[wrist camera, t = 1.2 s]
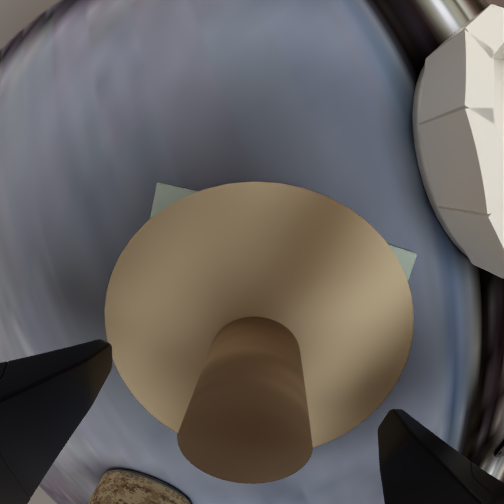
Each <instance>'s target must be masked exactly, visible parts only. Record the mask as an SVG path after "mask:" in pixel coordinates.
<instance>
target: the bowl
mask: <svg viewBox="0 0 504 504" xmlns="http://www.w3.org/2000/svg"><path fill="white" fill-rule="evenodd" d="M412 116H413V136H414V145H415V152H416V157H417V162H418V167H419V170H420V174H421V178H422V181H423V185H424V188H425V190H426V193H427V196H428V199H429V201H430V204H431V206H432V208H433V210H434V212H435V214H436V217H437V219H438V220H439V222H440V224H441V225H442V227H443V229H444V231H445V232H446V233H447V235H448V236H449V237H450V239H451V240H452V242H453V243H454V244H455V245H456V246H457V247H458V248H459V249H460V250H461V251H462V252H463V253H464V254H465V255H467V256H468V258H469V259H470V261H471V263H472V264H473V265H475V266H477V267H480V268H482V269H484V270H486V271H488V272H490V273H492V274H494V275H497V276H499V277H501V278H503V279H504V8H501V7H499V6H496V5H493V4H492V5H490V6H488V7H487V8H486V9H484V10H483V11H482V12H480V13H479V14H478V15H476V16H475V17H474V18H472V19H471V20H470V21H468V22H467V23H466V24H465V25H463V26H462V27H461V28H459V29H458V30H457V31H456V32H454V33H453V34H452V35H451V36H450V37H449V38H448V39H447V40H446V41H444V42H443V43H442V44H441V45H440V46H439V47H438V48H437V49H436V50H435V51H433V52H432V53H431V54H430V55H429V56H428V57H427V58H426V60H425V65H424V67H423V68H422V70H421V72H420V75H419V78H418V81H417V83H416V88H415V93H414V100H413V112H412Z"/></svg>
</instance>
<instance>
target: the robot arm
mask: <svg viewBox="0 0 504 504" xmlns="http://www.w3.org/2000/svg"><path fill="white" fill-rule="evenodd" d="M111 368H112V345H111V344H110V343H108V342H106V341H104V340H101V339H99V340H94V341H91V342H87V343H83V344H79V345H75V346H71V347H67V348H63V349H59V350H55V351H51V352H47V353H42V354H38V355H34V356H30V357H25V358H21V359H16V360H12V361H8V362H2V363H0V504H27V503H28V502H29V500H30V497H31V496H32V495H33V493H34V492H35V490H36V489H37V487H38V485H39V484H40V482H41V481H42V479H43V478H44V476H45V475H46V473H47V471H48V470H49V468H50V467H51V465H52V464H53V462H54V461H55V459H56V458H57V456H58V455H59V453H60V452H61V450H62V449H63V447H64V446H65V444H66V443H67V441H68V440H69V438H70V437H71V435H72V434H73V432H74V431H75V430H76V428H77V427H78V425H79V424H80V422H81V421H82V419H83V418H84V416H85V415H86V414H87V412H88V411H89V409H90V408H91V406H92V404H93V403H94V401H95V399H96V397H97V395H98V393H99V391H100V389H101V388H102V386H103V384H104V382H105V380H106V378H107V376H108V375H109V373H110V371H111ZM378 445H379V463H380V473H381V480H382V487H383V494H384V502H385V504H504V483H503V482H501V481H500V480H498V479H496V478H495V477H493V476H491V475H490V474H488V473H487V472H485V471H484V470H482V469H481V468H479V467H478V466H476V465H475V464H474V463H472V462H470V461H469V460H468V459H467V458H465V457H464V456H463V455H461V454H460V453H459V452H457V451H456V450H455V449H453V448H452V447H451V446H449V445H448V444H447V443H445V442H444V441H443V440H441V439H440V438H439V437H437V436H436V435H435V434H433V433H432V432H431V431H429V430H428V429H427V428H425V427H424V426H423V425H422V424H420V423H419V422H418V421H416V420H415V419H414V418H412V417H411V416H410V415H409V414H407V413H406V412H405V411H403V410H401V409H392V410H390V411H389V412H388V414H387V415H386V417H385V418H384V420H383V421H382V423H381V424H380V426H379V428H378ZM502 455H504V441H503V443H502V444H501V445H500V446H499V448H498V449H497V450H496V451H495V452H494V456H495V457H499V456H502Z"/></svg>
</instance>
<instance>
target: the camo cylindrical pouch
mask: <svg viewBox="0 0 504 504" xmlns="http://www.w3.org/2000/svg"><path fill="white" fill-rule="evenodd" d="M88 504H190V502H189V501H188V499H187V498H186V497H185V496H184V495H183V494H182V493H180V492H179V491H178V490H176V489H175V488H173V487H171V486H170V485H168V484H166V483H164V482H162V481H160V480H157V479H155V478H153V477H150V476H147V475H144V474H142V473H138V472H134V471H130V470H121V469H118V470H111V471H108V472H105V473H104V475H103V477H102V478H101V480H100V482H99V484H98V486H97V487H96V489H95V491H94V493H93V495H92V497H91V498H90V500H89V502H88Z"/></svg>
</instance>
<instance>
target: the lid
mask: <svg viewBox="0 0 504 504" xmlns="http://www.w3.org/2000/svg"><path fill="white" fill-rule="evenodd" d="M413 325H414V312H413V304H412V297H411V292H410V289H409V285H408V282H407V279H406V275H405V273H404V271H403V269H402V267H401V265H400V263H399V261H398V259H397V257H396V255H395V254H394V252H393V251H392V250H391V248H390V247H389V245H388V244H387V242H386V241H385V240H384V238H383V237H382V236H381V235H380V234H379V233H378V232H377V231H376V230H375V229H374V228H373V227H372V226H371V225H370V224H369V223H368V222H367V221H365V220H364V219H363V218H361V217H360V216H359V215H358V214H356V213H355V212H354V211H352V210H351V209H349V208H348V207H346V206H344V205H342V204H340V203H339V202H337V201H335V200H333V199H331V198H329V197H327V196H324V195H322V194H319V193H316V192H314V191H311V190H308V189H305V188H301V187H296V186H291V185H287V184H282V183H270V182H242V183H230V184H225V185H220V186H216V187H212V188H208V189H204V190H201V191H199V192H196V193H193V194H191V195H188V196H186V197H183V198H181V199H179V200H178V201H176V202H174V203H172V204H171V205H169V206H167V207H166V208H164V209H162V210H161V211H160V212H158V213H157V214H156V215H155V216H153V217H152V218H151V219H150V220H148V221H147V222H146V223H145V224H144V225H143V226H142V227H141V228H140V229H139V230H138V231H137V233H136V234H135V235H134V236H133V237H132V238H131V239H130V241H129V242H128V244H127V245H126V247H125V248H124V250H123V251H122V253H121V254H120V256H119V258H118V260H117V263H116V265H115V267H114V269H113V271H112V274H111V278H110V281H109V285H108V288H107V293H106V301H105V329H106V335H107V341H108V343H110V344H111V345H112V358H113V361H114V363H115V365H116V367H117V370H118V372H119V374H120V376H121V377H122V379H123V381H124V382H125V384H126V385H127V387H128V389H129V390H130V391H131V393H132V394H133V395H134V396H135V398H136V399H137V400H138V401H139V402H140V403H141V404H142V406H143V407H144V408H145V409H146V410H147V411H148V412H149V413H150V414H152V415H153V416H154V417H155V418H157V419H158V420H159V421H160V422H161V423H163V424H164V425H166V426H167V427H169V428H170V429H172V430H173V431H175V432H176V433H178V439H177V440H178V445H179V448H180V450H181V452H182V453H183V455H184V456H185V457H186V459H187V460H188V461H189V462H190V463H191V464H193V465H194V466H195V467H197V468H198V469H200V470H201V471H203V472H205V473H207V474H209V475H211V476H214V477H216V478H219V479H223V480H227V481H231V482H237V483H252V484H254V483H266V482H272V481H276V480H280V479H283V478H285V477H288V476H290V475H292V474H294V473H295V472H297V471H298V470H300V469H301V468H302V467H303V466H304V465H305V464H306V463H307V462H308V460H309V459H310V457H311V454H312V449H313V447H317V446H320V445H322V444H325V443H327V442H329V441H331V440H334V439H336V438H338V437H340V436H341V435H343V434H345V433H347V432H348V431H350V430H352V429H353V428H354V427H356V426H357V425H359V424H360V423H361V422H363V421H364V420H365V419H366V418H367V417H369V416H370V415H371V414H372V413H373V412H374V411H375V410H376V409H377V408H378V407H379V406H380V405H381V403H382V402H383V401H384V400H385V399H386V397H387V396H388V395H389V393H390V392H391V390H392V389H393V387H394V386H395V384H396V383H397V381H398V379H399V377H400V375H401V373H402V371H403V369H404V367H405V364H406V361H407V358H408V355H409V352H410V348H411V342H412V337H413Z"/></svg>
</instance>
